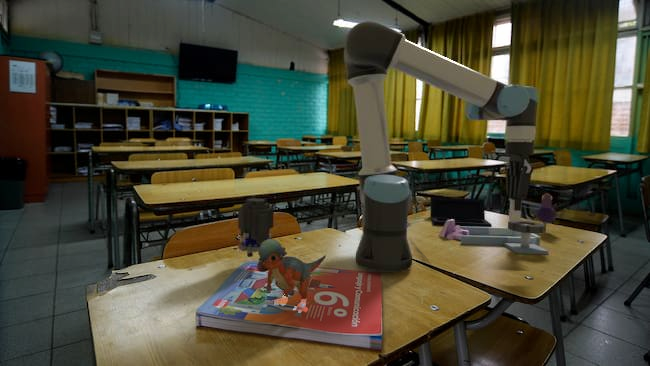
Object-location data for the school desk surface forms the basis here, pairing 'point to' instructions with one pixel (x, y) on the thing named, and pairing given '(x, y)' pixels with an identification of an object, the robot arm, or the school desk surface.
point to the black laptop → (458, 212)
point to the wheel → (526, 227)
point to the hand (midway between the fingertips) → (514, 220)
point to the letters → (452, 230)
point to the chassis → (504, 239)
